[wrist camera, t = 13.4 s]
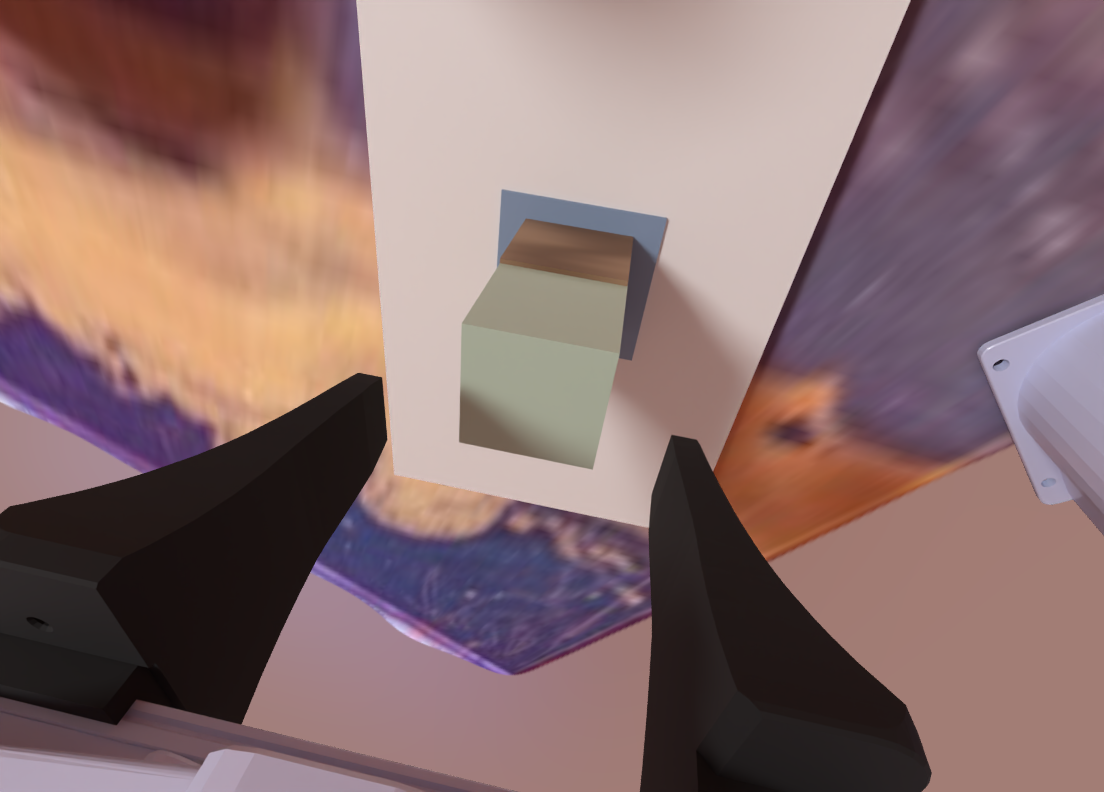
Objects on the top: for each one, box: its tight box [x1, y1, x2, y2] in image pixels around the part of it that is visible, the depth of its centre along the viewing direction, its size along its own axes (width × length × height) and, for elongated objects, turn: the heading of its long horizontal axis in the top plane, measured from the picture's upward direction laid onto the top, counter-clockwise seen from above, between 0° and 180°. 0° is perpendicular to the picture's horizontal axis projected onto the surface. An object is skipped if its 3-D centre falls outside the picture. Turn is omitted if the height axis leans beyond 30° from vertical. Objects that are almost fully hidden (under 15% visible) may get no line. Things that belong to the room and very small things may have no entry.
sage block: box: [459, 263, 628, 470], centre depth 16 cm, size 4×4×4 cm
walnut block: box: [500, 218, 633, 286], centre depth 19 cm, size 4×4×4 cm
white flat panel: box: [356, 0, 911, 528], centre depth 21 cm, size 16×26×1 cm, turn 173°
